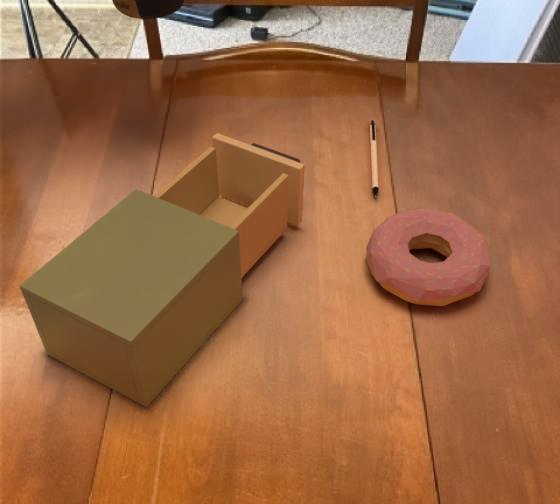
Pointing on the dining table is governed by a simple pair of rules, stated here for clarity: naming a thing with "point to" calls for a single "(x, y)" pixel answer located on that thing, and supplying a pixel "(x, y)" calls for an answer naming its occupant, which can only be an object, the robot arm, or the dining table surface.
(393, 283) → the donut
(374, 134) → the pen
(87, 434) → the dining table surface
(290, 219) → the drawer
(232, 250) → the cabinet
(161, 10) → the canister
